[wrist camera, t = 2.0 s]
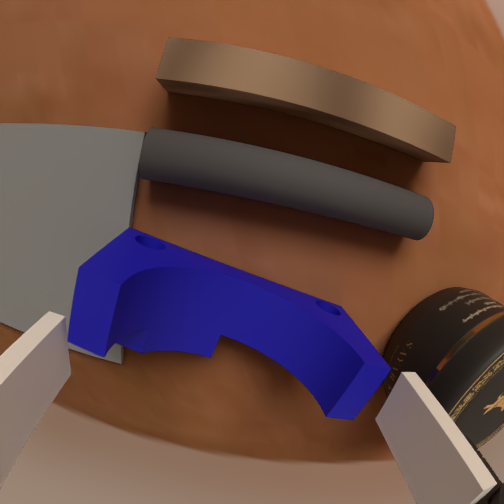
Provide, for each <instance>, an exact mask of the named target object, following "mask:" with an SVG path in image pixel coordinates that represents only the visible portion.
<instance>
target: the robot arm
mask: <svg viewBox="0 0 504 504" xmlns="http://www.w3.org/2000/svg"><path fill="white" fill-rule="evenodd" d="M70 375H71V368H70V361H69V352H68V342H67V331H66V317H65V316H62V315H59V314H56V313H53V312H50V311H49V312H48V313H46V314H45V315H44V316H43V317H42V318H41V319H40V320H39V321H37V322H36V323H35V324H34V325H33V326H32V327H31V328H30V329H29V330H27V331H26V332H25V333H24V334H23V335H22V336H21V337H20V338H19V339H18V340H17V341H16V342H15V343H13V344H12V345H11V346H10V347H9V348H8V349H7V350H6V351H5V352H4V353H3V354H2V355H1V356H0V488H1V487H2V485H3V483H4V481H5V479H6V477H7V476H8V474H9V472H10V470H11V468H12V466H13V465H14V463H15V461H16V460H17V458H18V456H19V454H20V453H21V451H22V449H23V448H24V446H25V444H26V443H27V441H28V439H29V438H30V436H31V434H32V433H33V431H34V430H35V428H36V426H37V425H38V423H39V422H40V420H41V419H42V417H43V415H44V414H45V412H46V410H47V409H48V408H49V406H50V405H51V403H52V402H53V400H54V399H55V397H56V396H57V394H58V393H59V391H60V390H61V388H62V387H63V385H64V384H65V382H66V381H67V379H68V378H69V377H70ZM375 420H376V422H377V424H378V426H379V428H380V430H381V432H382V434H383V436H384V438H385V440H386V442H387V444H388V446H389V448H390V450H391V452H392V454H393V456H394V458H395V460H396V462H397V464H398V466H399V469H400V471H401V473H402V475H403V477H404V479H405V481H406V483H407V485H408V487H409V489H410V491H411V493H412V495H413V498H414V500H415V502H416V504H504V483H502V482H501V481H500V480H499V479H498V477H497V476H496V474H495V473H494V471H493V470H492V468H491V467H490V465H489V464H488V463H487V461H486V460H485V458H482V454H481V453H480V451H477V447H476V446H475V444H474V443H473V442H472V440H471V439H469V438H468V437H467V436H466V435H464V434H463V433H461V431H460V430H459V428H458V427H457V426H456V424H455V423H454V422H453V420H452V419H451V418H450V416H449V415H448V414H447V412H446V411H445V410H444V408H443V407H442V406H441V404H440V403H439V402H438V401H437V399H436V398H435V397H434V395H433V394H432V393H431V391H430V390H429V389H428V388H427V386H426V385H425V384H424V383H423V381H422V380H421V379H420V377H419V376H418V375H417V374H416V372H401V374H400V376H399V378H398V380H397V382H396V384H395V386H394V388H393V389H392V391H391V393H390V395H389V397H388V398H387V400H386V402H385V404H384V405H383V407H382V409H381V410H380V412H379V414H378V415H377V417H376V419H375Z"/></svg>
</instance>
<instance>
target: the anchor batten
mask: <svg viewBox="0 0 504 504" xmlns="http://www.w3.org/2000/svg"><path fill="white" fill-rule="evenodd" d="M156 79H157V80H158V82H159V83H160V84H161V85H162V86H163V87H164V88H165V90H166V91H167V92H172V93H180V94H188V95H194V96H201V97H207V98H213V99H219V100H224V101H230V102H235V103H240V104H245V105H249V106H254V107H259V108H263V109H267V110H271V111H276V112H280V113H284V114H288V115H291V116H295V117H299V118H302V119H306V120H310V121H313V122H316V123H320V124H323V125H326V126H330V127H333V128H336V129H339V130H342V131H345V132H348V133H351V134H354V135H357V136H360V137H363V138H366V139H369V140H371V141H374V142H377V143H379V144H382V145H385V146H387V147H390V148H392V149H395V150H397V151H400V152H402V153H405V154H407V155H410V156H412V157H414V158H417V159H419V160H421V161H424V162H444V163H451V158H452V152H453V146H454V139H455V132H456V126H455V125H453V124H451V123H449V122H448V121H446V120H444V119H442V118H440V117H439V116H437V115H435V114H433V113H431V112H429V111H427V110H425V109H423V108H421V107H419V106H417V105H415V104H413V103H411V102H409V101H407V100H405V99H403V98H401V97H399V96H396V95H394V94H392V93H390V92H387V91H385V90H383V89H380V88H378V87H375V86H373V85H371V84H368V83H366V82H363V81H360V80H358V79H355V78H352V77H350V76H347V75H344V74H341V73H338V72H336V71H333V70H330V69H327V68H323V67H320V66H317V65H314V64H310V63H307V62H304V61H300V60H296V59H293V58H289V57H285V56H281V55H277V54H273V53H269V52H264V51H260V50H255V49H250V48H245V47H240V46H234V45H229V44H222V43H216V42H209V41H201V40H193V39H183V38H172V37H168V40H167V43H166V46H165V49H164V52H163V55H162V59H161V62H160V65H159V68H158V72H157V75H156Z"/></svg>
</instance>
